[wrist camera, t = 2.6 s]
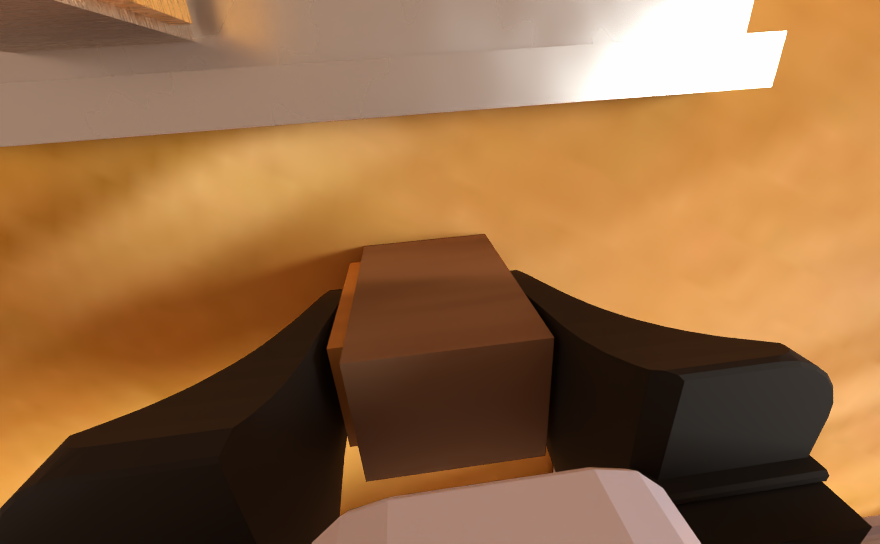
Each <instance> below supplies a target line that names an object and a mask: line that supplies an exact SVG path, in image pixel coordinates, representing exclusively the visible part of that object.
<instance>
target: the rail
mask: <svg viewBox="0 0 880 544" xmlns="http://www.w3.org/2000/svg"><path fill="white" fill-rule="evenodd" d="M753 1H754V0H0V147H6V146H18V145H31V144H44V143H57V142H70V141H82V140H95V139H108V138H121V137H134V136H146V135H159V134H172V133H185V132H198V131H211V130H223V129H236V128H249V127H262V126H275V125H287V124H300V123H313V122H326V121H339V120H351V119H364V118H377V117H390V116H403V115H415V114H428V113H441V112H454V111H467V110H479V109H492V108H505V107H518V106H531V105H544V104H556V103H569V102H582V101H595V100H608V99H620V98H633V97H646V96H659V95H672V94H684V93H697V92H710V91H723V90H736V89H748V88H761V87H772V83H773V79H774V76H775V72H776V69H777V65H778V61H779V58H780V54H781V51H782V47H783V43H784V40H785V36H786V33H787V31H778V32H763V33H748V34H746V30H747V26H748V22H749V18H750V14H751V10H752V5H753Z"/></svg>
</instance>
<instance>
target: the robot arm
mask: <svg viewBox="0 0 880 544" xmlns="http://www.w3.org/2000/svg"><path fill="white" fill-rule="evenodd" d="M510 272H511V274H512V275H513V277H514V278H515V280H516V281H517V283H518V284H519V286H520V287H521V289H522V290H523V292H524V293H525V295H526V296H527V298H528V299H529V301H530V302H531V304H532V305H533V307H534V308H535V310H536V311H537V313H538V314H539V316H540V317H541V319H542V320H543V322H544V323H545V325H546V326H547V328H548V329H549V331H550V332H551V334H552V335H553V336H554V347H553V361H552V374H551V387H550V401H549V414H548V427H547V440H546V446H547V449H548V452H549V454H550V457H551V460H552V463H553V466H554V469H553V473H547V474H541V475H534V476H527V477H521V478H514V479H507V480H500V481H494V482H487V483H480V484H474V485H467V486H460V487H453V488H447V489H440V490H433V491H427V492H420V493H413V494H407V495H400V496H393V497H388V498H385V499H382V500H379V501H376V502H373V503H370V504H367V505H364V506H361V507H358V508H355V509H352V510H349V511H347V512H346V513H344V514H343V515H341V516H340V504H341V490H342V478H343V466H344V455H345V448H346V441H347V432H346V428H345V423H344V419H343V415H342V411H341V407H340V403H339V399H338V395H337V390H336V386H335V382H334V378H333V374H332V370H331V366H330V361H329V357H328V353H327V345H328V342H329V338H330V335H331V331H332V327H333V324H334V320H335V316H336V313H337V309H338V306H339V302H340V298H341V295H342V291H343V289H339V290H330V291H328V292H327V293H325V294H324V295H323V296H322V297H320V298H319V299H318V300H317V301H316V302H315V303H314V304H313V305H311V306H310V307H309V308H308V309H307V310H306V311H305V312H303V313H302V314H301V315H300V316H299V317H298V318H297V319H295V320H294V321H293V322H292V323H291V324H289V325H288V326H287V327H286V328H284V329H283V330H282V331H280V332H279V333H278V334H277V335H275V336H274V337H273V338H272V339H270V340H269V341H268V342H266V343H265V344H263V345H262V346H261V347H259V348H258V349H256V350H255V351H253V352H252V353H250V354H248V355H247V356H245V357H244V358H242V359H241V360H239V361H237V362H236V363H234V364H232V365H231V366H229V367H227V368H225V369H223V370H221V371H220V372H218V373H216V374H214V375H212V376H210V377H209V378H207V379H205V380H203V381H201V382H199V383H197V384H195V385H193V386H191V387H189V388H187V389H185V390H183V391H181V392H179V393H177V394H175V395H172V396H170V397H168V398H166V399H163V400H161V401H159V402H156V403H154V404H152V405H150V406H147V407H145V408H142V409H140V410H137V411H135V412H132V413H130V414H127V415H125V416H122V417H119V418H117V419H114V420H111V421H109V422H106V423H103V424H101V425H98V426H95V427H93V428H90V429H87V430H85V431H82V432H79V433H76V434H73V435H70V436H69V437H68V438H67V439H66V440H65V441H64V442H63V443H62V444H61V445H60V446H59V447H58V448H57V449H56V450H55V451H54V452H53V454H52V455H51V456H50V457H49V458H48V459H47V460H46V461H45V462H44V463H43V464H42V465H41V466H40V467H39V468H38V469H37V470H36V471H35V472H34V473H33V475H32V476H31V477H30V478H29V479H28V480H27V481H26V482H25V483H24V484H23V485H22V486H21V487H20V488H19V489H18V490H17V491H16V492H15V493H14V494H13V495H12V497H11V498H10V499H9V500H8V501H7V502H6V503H5V504H4V505H3V506H2V507H1V508H0V544H880V515H874V516H868V517H861V516H860V515H859V514H857V513H856V512H855V511H854V510H853V509H852V508H851V507H850V506H848V505H847V504H846V503H845V502H844V501H843V500H842V499H841V498H840V497H838V496H837V495H836V494H835V493H834V492H833V491H832V490H831V489H829V488H828V487H827V486H826V485H825V484H824V483H823V482H822V481H826V480H827V479H828V477H829V474H828V472H827V470H826V469H825V468H824V467H823V466H822V465H820V464H819V463H818V462H817V461H816V460H815V459H813V458H812V457H811V456H810V455H809V454H810V452H811V450H812V448H813V446H814V444H815V442H816V440H817V438H818V436H819V434H820V432H821V430H822V428H823V426H824V424H825V422H826V420H827V419H828V416H829V413H830V411H831V408H832V405H833V385H832V383H831V381H830V378H829V376H828V374H827V373H826V372H824V371H823V370H822V369H820V368H819V367H818V366H816V365H815V364H813V363H812V362H810V361H809V360H807V359H805V358H804V357H802V356H801V355H799V354H798V353H796V352H794V351H793V350H791V349H790V348H788V347H787V346H785V345H783V344H781V343H774V342H765V341H756V340H746V339H737V338H728V337H720V336H713V335H707V334H701V333H695V332H689V331H684V330H679V329H674V328H669V327H664V326H660V325H656V324H652V323H648V322H644V321H640V320H636V319H632V318H629V317H625V316H622V315H619V314H616V313H613V312H610V311H607V310H604V309H601V308H599V307H596V306H593V305H591V304H588V303H586V302H584V301H581V300H579V299H577V298H574V297H572V296H570V295H568V294H565V293H563V292H561V291H559V290H557V289H555V288H553V287H551V286H549V285H547V284H545V283H543V282H541V281H539V280H537V279H535V278H533V277H531V276H529V275H527V274H525V273H523V272H520V271H518V270H513V271H510Z"/></svg>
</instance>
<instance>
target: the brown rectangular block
mask: <svg viewBox="0 0 880 544" xmlns="http://www.w3.org/2000/svg"><path fill="white" fill-rule="evenodd" d="M553 347H554V336H553V335H552V334H551V332H550V331H549V329H548V328H547V326H546V325H545V323H544V322H543V320H542V319H541V317H540V316H539V314H538V313H537V311H536V310H535V308H534V307H533V305H532V304H531V302H530V301H529V299H528V298H527V296H526V295H525V293H524V292H523V290H522V289H521V287H520V286H519V284H518V283H517V281H516V280H515V278H514V277H513V275H512V274H511V272H510V271H509V269H508V268H507V266H506V265H505V263H504V262H503V260H502V259H501V257H500V256H499V254H498V253H497V251H496V250H495V248H494V247H493V245H492V244H491V242H490V241H489V239H488V238H487V236H486V235H485V234H481V235H471V236H461V237H451V238H441V239H432V240H422V241H412V242H402V243H392V244H383V245H373V246H364V250H363V255H362V259H361V262H354V263H350V266H349V269H348V273H347V277H346V280H345V284H344V287H343V291H342V295H341V298H340V302H339V306H338V309H337V313H336V316H335V320H334V324H333V327H332V331H331V335H330V338H329V342H328V345H327V353H328V357H329V361H330V366H331V370H332V374H333V378H334V382H335V386H336V390H337V395H338V399H339V403H340V407H341V411H342V415H343V419H344V423H345V428H346V432H347V436H348V440H349V444H350V447H352V446H358V448H359V452H360V456H361V461H362V465H363V470H364V474H365V478H366V482H367V481H374V480H381V479H388V478H395V477H402V476H409V475H415V474H422V473H429V472H436V471H443V470H450V469H457V468H463V467H470V466H477V465H484V464H491V463H498V462H505V461H512V460H518V459H525V458H532V457H539V456H545V454H546V440H547V427H548V414H549V401H550V387H551V374H552V361H553Z"/></svg>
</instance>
